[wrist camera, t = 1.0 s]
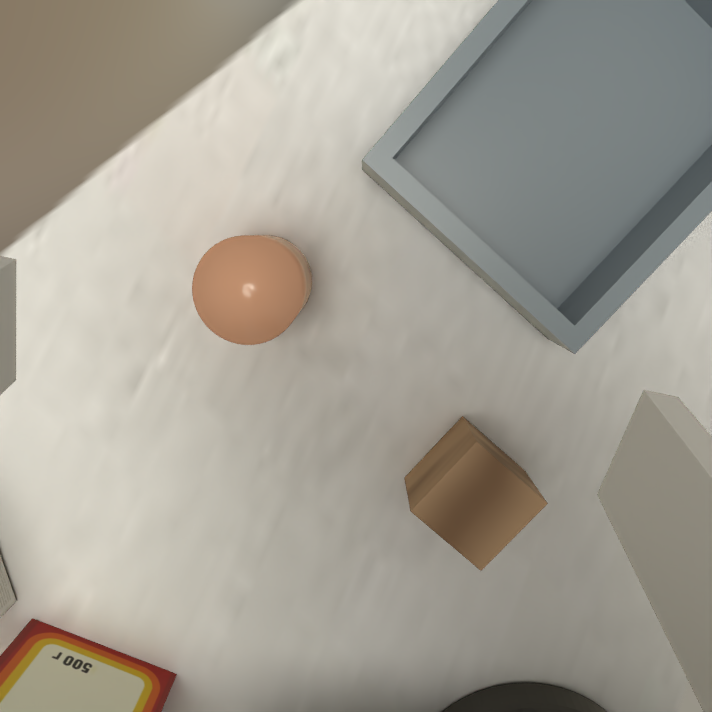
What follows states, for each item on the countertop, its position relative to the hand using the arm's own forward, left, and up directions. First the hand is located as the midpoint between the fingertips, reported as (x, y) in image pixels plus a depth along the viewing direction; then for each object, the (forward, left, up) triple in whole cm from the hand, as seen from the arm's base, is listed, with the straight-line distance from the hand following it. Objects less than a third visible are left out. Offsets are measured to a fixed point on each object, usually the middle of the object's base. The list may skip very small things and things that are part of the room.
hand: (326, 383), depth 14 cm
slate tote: (-3, -14, -24) cm, 28 cm away
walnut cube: (-12, +4, -24) cm, 27 cm away
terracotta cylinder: (+4, +3, -24) cm, 25 cm away
